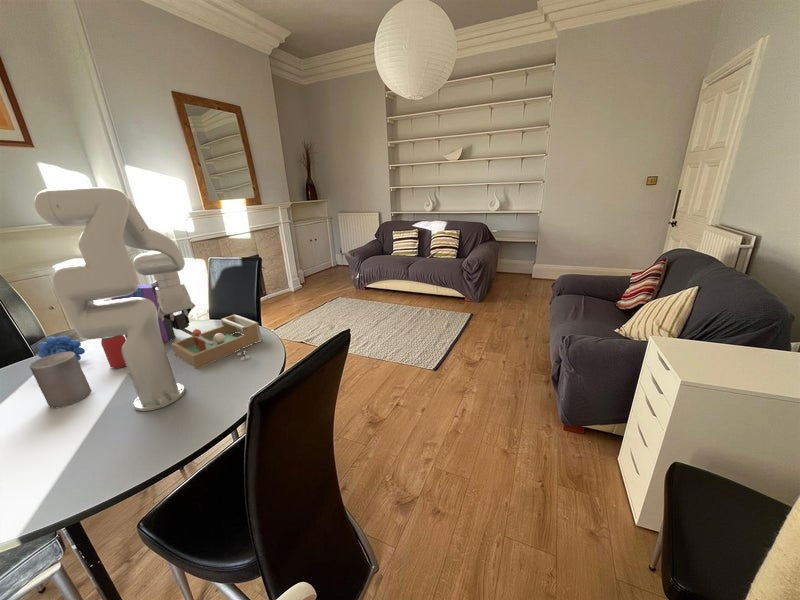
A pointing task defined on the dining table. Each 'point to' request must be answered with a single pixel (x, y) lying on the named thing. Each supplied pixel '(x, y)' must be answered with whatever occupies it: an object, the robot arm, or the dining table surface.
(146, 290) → the cereal box
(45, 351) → the grapes
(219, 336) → the ball
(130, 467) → the dining table surface
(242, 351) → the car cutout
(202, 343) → the striker
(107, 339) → the beer can
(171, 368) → the robot arm
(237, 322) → the pitch
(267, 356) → the dining table surface
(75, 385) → the pillar candle
